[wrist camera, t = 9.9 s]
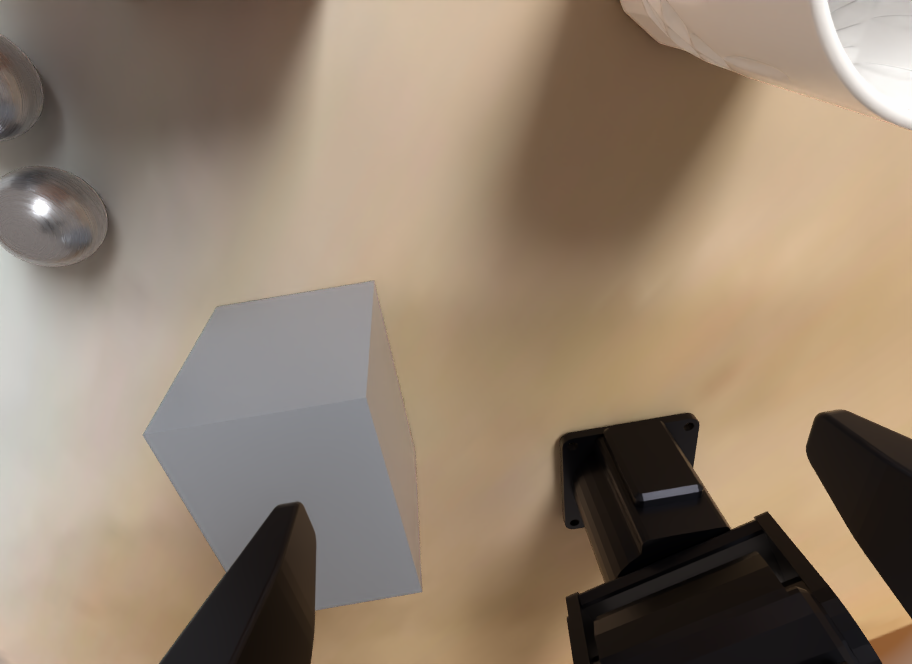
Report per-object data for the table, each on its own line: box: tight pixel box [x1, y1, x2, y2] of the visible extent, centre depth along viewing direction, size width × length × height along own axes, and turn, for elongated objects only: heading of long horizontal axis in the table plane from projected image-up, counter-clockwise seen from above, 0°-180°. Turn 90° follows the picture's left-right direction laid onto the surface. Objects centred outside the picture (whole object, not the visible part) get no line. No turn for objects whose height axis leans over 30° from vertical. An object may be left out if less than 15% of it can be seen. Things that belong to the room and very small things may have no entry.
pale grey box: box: [143, 281, 422, 610], centre depth 20 cm, size 9×6×7 cm, turn 8°
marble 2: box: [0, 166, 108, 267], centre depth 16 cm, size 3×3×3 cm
